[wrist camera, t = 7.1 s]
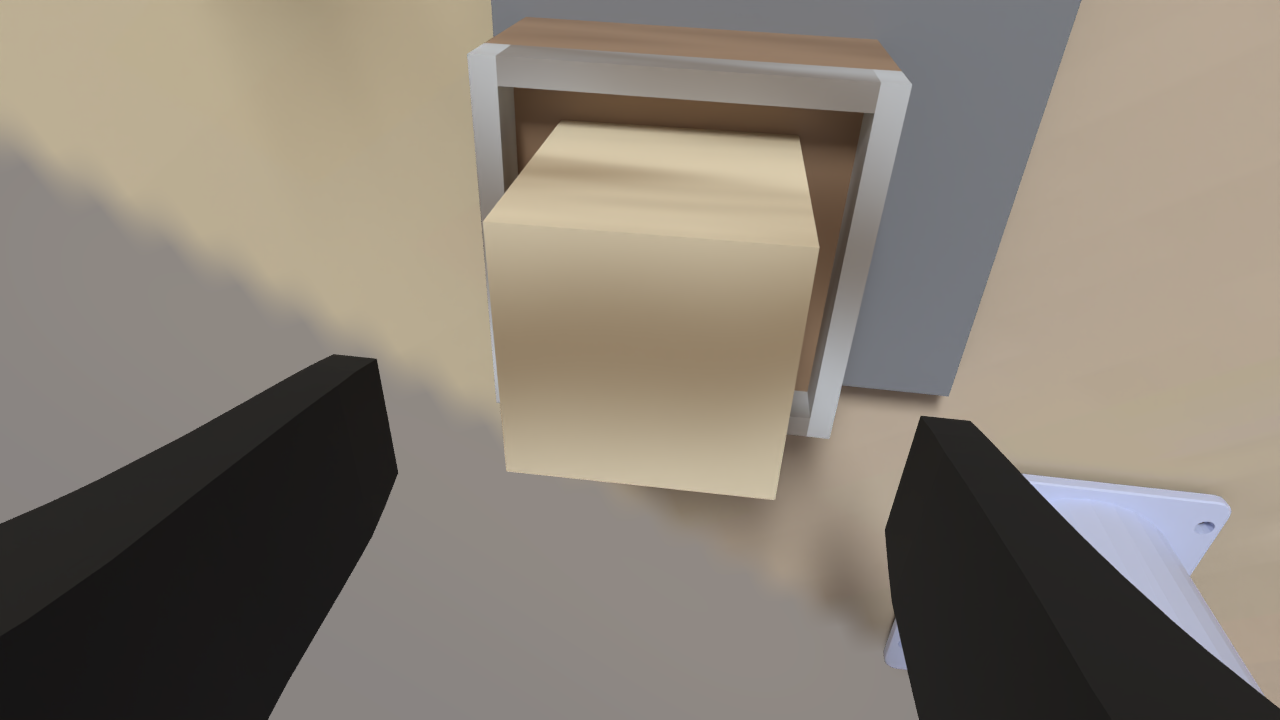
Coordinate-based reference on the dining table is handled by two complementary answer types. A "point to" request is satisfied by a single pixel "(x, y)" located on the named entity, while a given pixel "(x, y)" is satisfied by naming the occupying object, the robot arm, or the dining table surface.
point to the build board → (910, 149)
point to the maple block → (652, 305)
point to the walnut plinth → (715, 100)
